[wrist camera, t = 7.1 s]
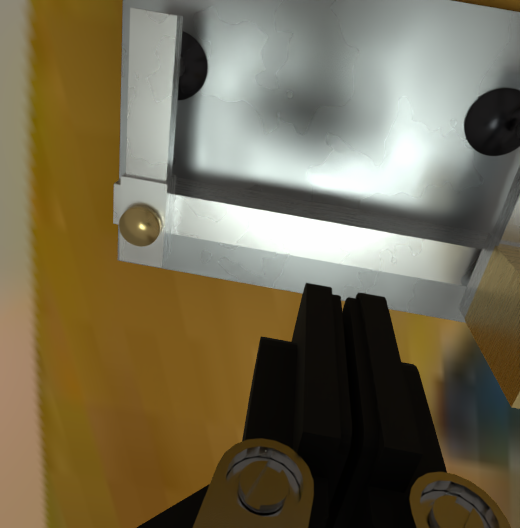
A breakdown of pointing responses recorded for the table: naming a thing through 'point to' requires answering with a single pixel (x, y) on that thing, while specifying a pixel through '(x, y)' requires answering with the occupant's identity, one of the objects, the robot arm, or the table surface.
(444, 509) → the robot arm
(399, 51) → the bolt plate
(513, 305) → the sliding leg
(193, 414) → the table surface
